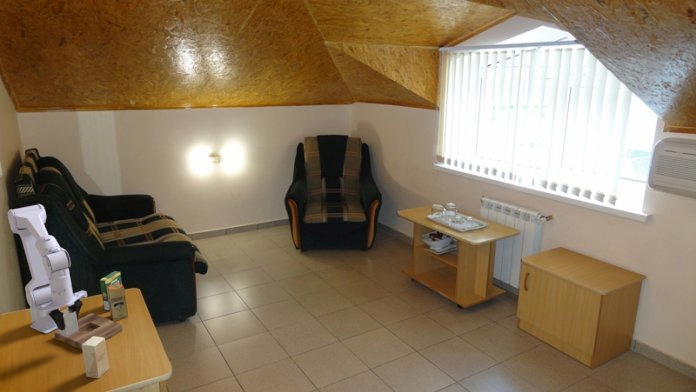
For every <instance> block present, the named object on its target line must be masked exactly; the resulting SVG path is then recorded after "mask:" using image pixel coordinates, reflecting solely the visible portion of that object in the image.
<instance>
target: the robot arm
mask: <svg viewBox="0 0 696 392" xmlns="http://www.w3.org/2000/svg"><path fill="white" fill-rule="evenodd" d="M7 219H8V223H9V226H10V231H12V234H18V235H19V236H20V239H21V242H22V245H23V249H24V253H25V256H26V260H27V263H28V267H29V271H30V275H31V280H30V281H29V282H28V283H27V284H26V285H25V288H24V289H25V297H26V298H25V299H26V301H27V303H28V305H29V312H30V318H31V322H32V324H31V325H29V326H30V328H32V329H34V330H36V331H38V332H41V333H43V334H46V335H47V334H49V333H51V332H53V331H54V330H55V331H56V330H64V324H63V312H60V311H61V309H62V308H65V307H67V308H69V309H72V310H74V311H76V316H77V322H78V320H79V315H80V311H81V308H82V307H83V306H84V305H83V301H82V300H81V299H83V298H84V299H85V298H87V297H88V293H87V291H86V290H83V289H82V290H80V291H77V292H73V291H74V290H73V287H72V286H73V285H72V280H71V276H70V269H69V268H71V265H72V262H71V257H70V255H69V252H68V251H67V249H64V248H63V247H61V246H60V244H59V243H58V240H57V239H56V237H54V236H53V235H49V233H48V231H47V228H46V227H45V226H46V225H45V224H46V221H47V214H46V209H45V206H44V205H43V204H40V203H38V204H35V205H29V206H24V207H20V208H14V209H9V210H8V211H7Z"/></svg>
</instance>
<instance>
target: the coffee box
mask: <svg viewBox="0 0 696 392" xmlns="http://www.w3.org/2000/svg"><path fill="white" fill-rule="evenodd" d="M122 282H123V281H122V276H121V271H117V270H114V271H112V272H110V273H109V274H107V275H106V276H104V277H102V278H101V279H99V287H100V291H101V296H102V297H101V298H102V303H103V309H104V311H106V312H107V311H108V312H110V306H109V300H108V293H107V286H109V285H113V284H118V283H122ZM122 284H123V283H122Z"/></svg>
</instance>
